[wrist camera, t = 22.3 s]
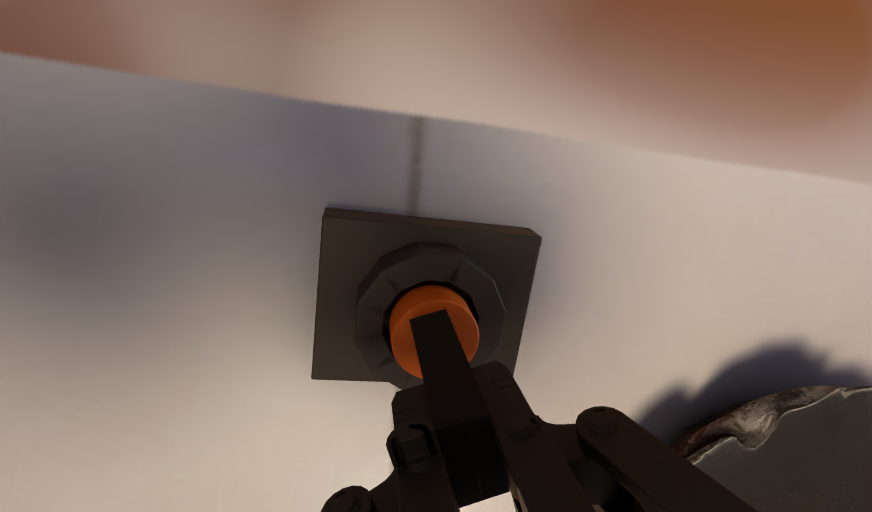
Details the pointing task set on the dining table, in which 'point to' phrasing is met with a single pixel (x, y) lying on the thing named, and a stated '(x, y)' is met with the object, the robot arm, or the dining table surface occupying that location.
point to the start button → (422, 304)
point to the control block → (406, 270)
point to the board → (790, 450)
